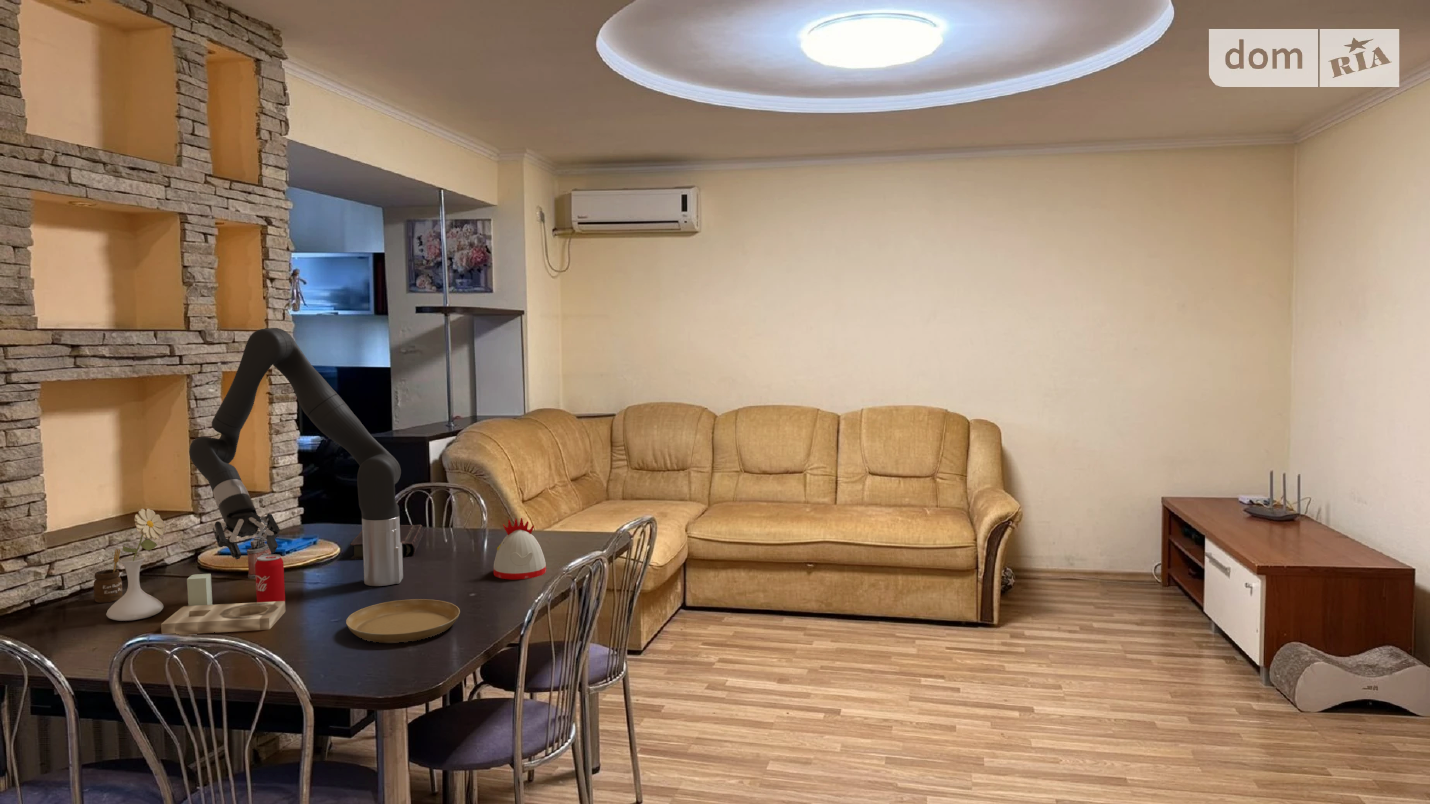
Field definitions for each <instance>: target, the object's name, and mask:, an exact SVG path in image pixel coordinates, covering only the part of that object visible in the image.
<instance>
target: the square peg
mask: <svg viewBox="0 0 1430 804" xmlns="http://www.w3.org/2000/svg"><path fill="white" fill-rule="evenodd" d="M186 586H187V603H188V604H187V606H197V605H213V592H212V590H213V589H212V575H211V573H201V574H200V573H199V574H198V573H196V574H192V575H190V576H189V577H188V578H186Z"/></svg>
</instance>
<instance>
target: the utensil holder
mask: <svg viewBox="0 0 1430 804" xmlns="http://www.w3.org/2000/svg"><path fill="white" fill-rule="evenodd" d="M120 553H121V549H120V548H115V551H114V555H113V562H114V564H113V565H114V566H113V569H101V570H100V569H99V566H98V565H100V567H104V565H106V564H105V561H104V559H103V558H101V557H96V558H94V560H92V562H94V564H92V566H93V568H94V570H95V573H94V579H95V580H94V582H93V596H94V597H93V598H94V601H95V602H96V603H98V604H99V603H102V604H103V603H104V604H105V603H112V602H116V601H118V600H119V599H120V598H121V597H122V596H123V581H122V578H121V577H120V573H121V572H120V570H119V569H116V567H117V563H118V562H120V556H121V555H120ZM101 559H102V560H101ZM96 560H98V561H99V563H100V564H98V562H96ZM96 563H97V564H96ZM101 565H102V566H101Z"/></svg>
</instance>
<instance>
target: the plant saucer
mask: <svg viewBox="0 0 1430 804" xmlns="http://www.w3.org/2000/svg"><path fill="white" fill-rule="evenodd" d="M460 613H461V610H460V608H459V607H458V606H457V605H456V604H454V603H452V602H450V601H445V600H437V599H425V598H423V599H422V598H420V599H419V598H415V599H414V598H412V599H402V600H401V599H400V600H391V601H385V602H380V603H377V604H373V605H369V606H366V607H364V608H363V607H362V608H361V609H358V610H356V611H354V612H353V613H351V614H349V616H348V617H347V618H346V620H345V623H346V626H347V628H348V629H349V631H350V632H351V633H352V634H353V635H355V636H356V637H358V638H360V639H361V638H362V640H364V641H366V640H367V642H370V641H373V642H372V643H376V642H379V643H378V644H400V643H399V642H404V643H409V642H408V641H412V642H417V640H418V641H422V640H421V639H423V640H425V638H427V639H429V638H428V637H430V638H433V637H435V635H436V636H438V635H441V634H443V633H444V632H446V631H447V630H449V629H450V628H451V627H453V625H454V624H455V622H456V621H457V620H458V618H459V616H460ZM442 632H443V633H442ZM440 633H441V634H440ZM437 634H438V635H437ZM432 636H433V637H432Z"/></svg>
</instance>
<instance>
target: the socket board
mask: <svg viewBox="0 0 1430 804" xmlns="http://www.w3.org/2000/svg"><path fill="white" fill-rule="evenodd" d="M285 613H286V600H285V601H275V602H257V601H256V602H242V603H236V602H235V603H220V604H212V605H197V606H188V605H184V606H181V607H180V608H179V609H178V610H177V611H175V612H174V613H173V614H172V615H170V616H169V617H167V618H166V619H165V620H164V621H163V622H162V623H161V624H160V626H161V627H160V628H161V629H160V630H161V634H162V633H176V634H179V635H194V634H211V633H214V632H215V633H228V632H231V633H232V632H233V633H234V632H248V631H266V630H267V631H268V630H271V628H272V627H273V626H274V625H275V624H276V623H277V622H278V621H279V620H280V618H281V617H282V616H283V615H284V614H285ZM215 633H214V634H215Z"/></svg>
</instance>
